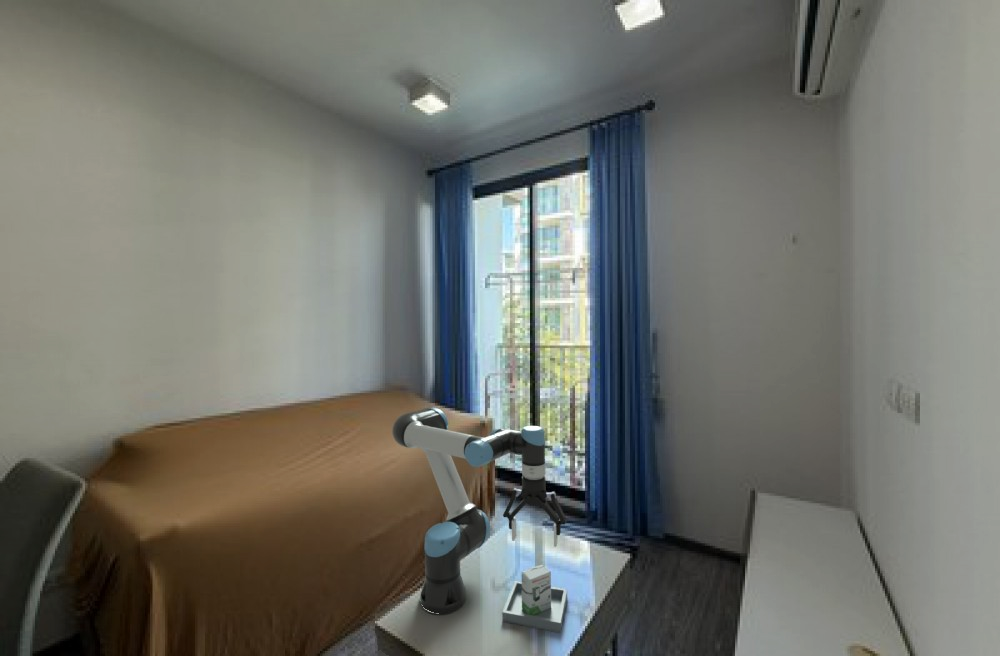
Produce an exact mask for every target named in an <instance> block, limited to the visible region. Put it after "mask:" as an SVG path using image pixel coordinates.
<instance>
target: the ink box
mask: <svg viewBox="0 0 1000 656" xmlns="http://www.w3.org/2000/svg"><path fill="white" fill-rule="evenodd" d="M521 582H522V609H523V610H524V611H525V612H526V613H527V614H528V615H535V614H537V613H540V612H542V611H544V610H546V609H548V608H551V587H552V571H551V570H549V568H547V567H546V566H545V565H544V564H539V565H536V566H533V567H532V566H531V567H530V568H527V569H525V570H523V571H521Z"/></svg>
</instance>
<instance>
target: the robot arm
mask: <svg viewBox="0 0 1000 656" xmlns="http://www.w3.org/2000/svg"><path fill="white" fill-rule="evenodd" d="M448 428H449V420H448V417H447V416H446V414H445V413H444V411H443V410H441V409H440V408H437V407H427V408H425V407H424V408H423V409H419V410H416V411H412V412H406V413H404V414H402V415H400V416H398V417H397V418H396V420H395V421H394V423H393V426H392V429H391V430H392V437H393V439H394V441H395V442H396V443H397V444H398V445H400V446H402V447H405V448H407V449H416V448H418V449H419V450H421V451H424V453H425V456H426V459H427V461H428V465H429V466H430V469H431V471H432V473H433V476H434V477H433V478H434V479H435V482H436V484H437V487H438V490H439V493H440V494H441V497H442V499H443V503H444V505H445V508H446V511H447V513H448V514H447V517H446V521H443V522H442V523H441V522H439V523H435V524H434V525H433V526H431V527H430V528H429V529H428V530H427V532H426V533H425V535H424V546H423V548H424V568H425V569H424V572H425V573H424V574H425V578H424V582H423V584H422V588H421V592H420V595H419V597H420V600H421V603H420V605H421V604H422V605H423V607H424V608H425V609H427V610H429V611H431V612H434V613H439V614H442V615H447V614H451V613H453V612H456V611H457V610H459V609H460V608H462V607H463V605H464V604H465V602H466V599H467V590H466V586H465V583H464V580H463V577H462V575H461V561H462V560H464V559H465V558H466V557H468V556H469V555H470V554H472V553H473V552H474V551H476V550H477V549H479V548H481V547H483V545H484V544H485V543H486V542H487V541H488V540H489V537H490V534H491V523H490V520H489V517H488V516H487V514H486V513H485V512H483V510H481V509H478V508H477V506H476V504H474V503H472V502H470V500H469V497H468V494H467V491H466V490H465V487H464V485H463V482H462V479H461V477H460V474H459V473H458V470H457V467H456V464H455V462H454V460H453V458H452V457H456V458H461V459H465V460H466V462H467V463H468V464H469V465H470V466H471V467H473V468H474V467H475V468H479V467H481V466H485V465H487V464H489V463H491V462H493V461H495V460H497V459H499V458H501V457H503V456H506V455H508V454H510V455H512V454H513V455H516V456H521V474H522V476H521V484H522V485H521V486H522V487H521V489H519V488H518V487H514V488H513V489H512V493H511V498H510V500H509V501H508V504H507V506H506V508H505V510H504V512H503V514H502V516H503V518H506V519H508V529H509V530H511V541H513V542H515V541H516V538H517V516H516V515H517V514H518V513H519V512H520V511H521V510H522V509H523V508H524V507H525V505H526V504H527V505H528V506H534V507H539V506H540V507H541V508H542V509H543V510H544V512H546V514H547V515H548V516H549V518H550V519H551V520H552V521H553V547H554V548H556V547H557V546H558V543H559V542H558V536H560V535H561V530H562V529H561V528H562V527H561V526H562V525H566V522H567V517H566V515H565V513H564V510H563V509H562V507H561V505H560V502H559V501H558V499H557V494H556V491H555V490H554V491H551V492H547V489H546V480H547V479H546V437H545V436H546V435H545V430H544V428H543V427H541V426H538V425H527V426H523V427H522V428H521V431H519V430H513V429H509V428H505V427H501V428H500V427H495V428H493V429H492V431H491V432H490V433H489V435H487V436H484V437H483V436H478V435H477V436H476V435H473V434H469V433H463V432H459V431H454V430H449V429H448ZM520 495H521V497H522V498H523V499H522V500H521V502H520V503H519V504H518V505H517V506H516V507H515V508H514V509H513V510H512V511H511V512H510V510H511V509H512V506H513V505H514V502H515V501H516V499H517V497H519V496H520ZM547 498H548V499H549V500H550V501H551V504H552V506H553V508H554V510H555V511H554V510H553V508H552V507H551V506H550V504H549V503H548V500H546V499H547ZM420 600H419V601H420Z"/></svg>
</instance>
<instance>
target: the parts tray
mask: <svg viewBox="0 0 1000 656" xmlns="http://www.w3.org/2000/svg"><path fill="white" fill-rule="evenodd" d="M567 601H568V589H567V588H562V587H556V586H551V608H548V609H546V610H544V611H542V612H540V613H537V614H535V615H528V614H527V613H526V612H525V611H524V610H523V609H522V581H519V580H514V582H513V585H512V586H511V589H510V592H509V594H508V597H507V600H506V602H505V604H504V607H503V609H502V612H501V614H502V617H501V618H502V623H507V624H512V625H517V626H523V627H528V628H532V629H539V630H544V631H549V632H553V633H559V634H562V631H563V630H562V629H563V624H564V620H565V619H564V618H565V612H566V607H567Z"/></svg>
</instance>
